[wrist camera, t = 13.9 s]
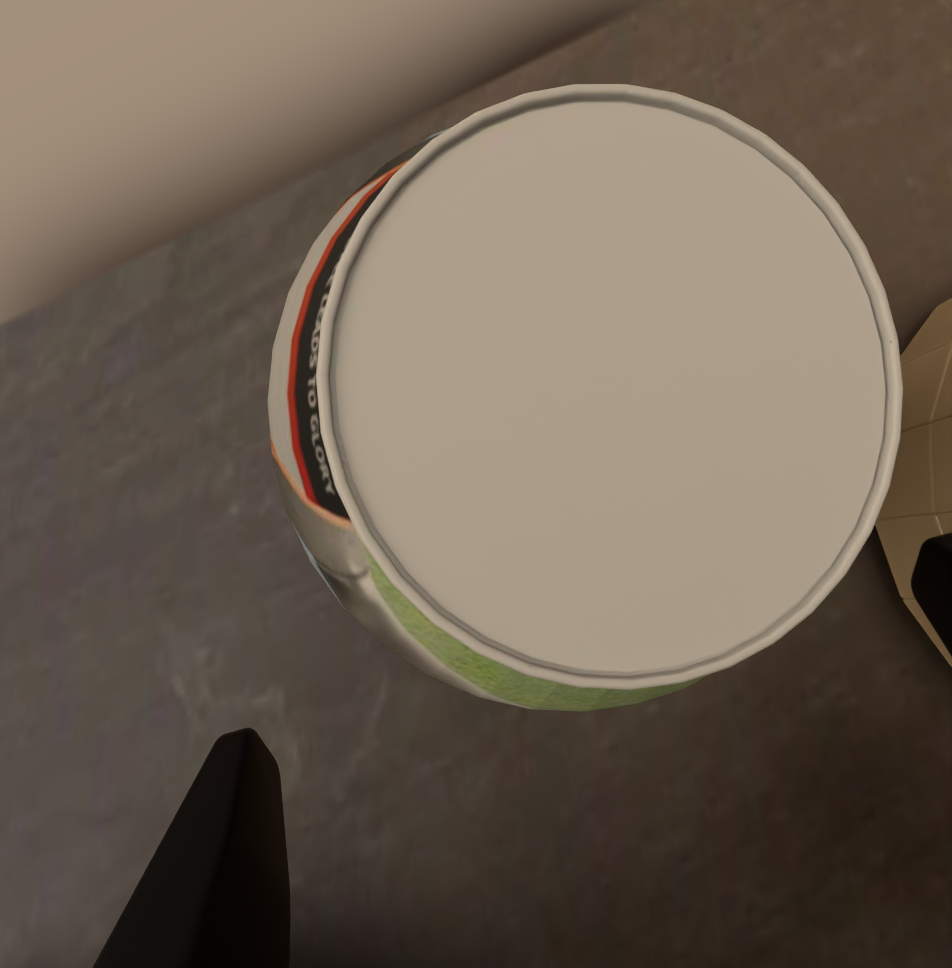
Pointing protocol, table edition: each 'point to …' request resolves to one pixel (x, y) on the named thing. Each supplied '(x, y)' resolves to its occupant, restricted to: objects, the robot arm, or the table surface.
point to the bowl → (921, 459)
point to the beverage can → (585, 398)
